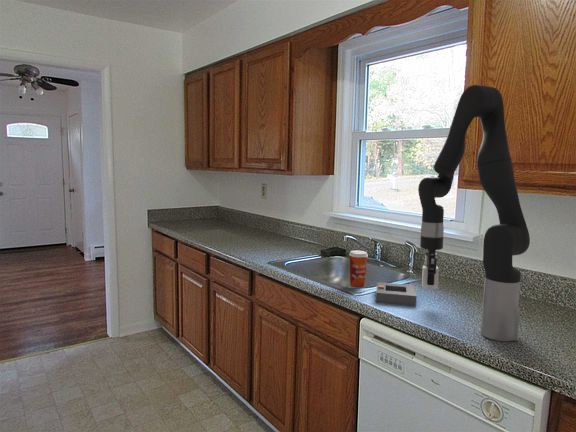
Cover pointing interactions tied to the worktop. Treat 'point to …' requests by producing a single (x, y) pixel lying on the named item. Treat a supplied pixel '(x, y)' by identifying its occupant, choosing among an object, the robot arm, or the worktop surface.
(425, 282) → the plug
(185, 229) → the worktop surface
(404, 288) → the socket
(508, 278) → the robot arm
